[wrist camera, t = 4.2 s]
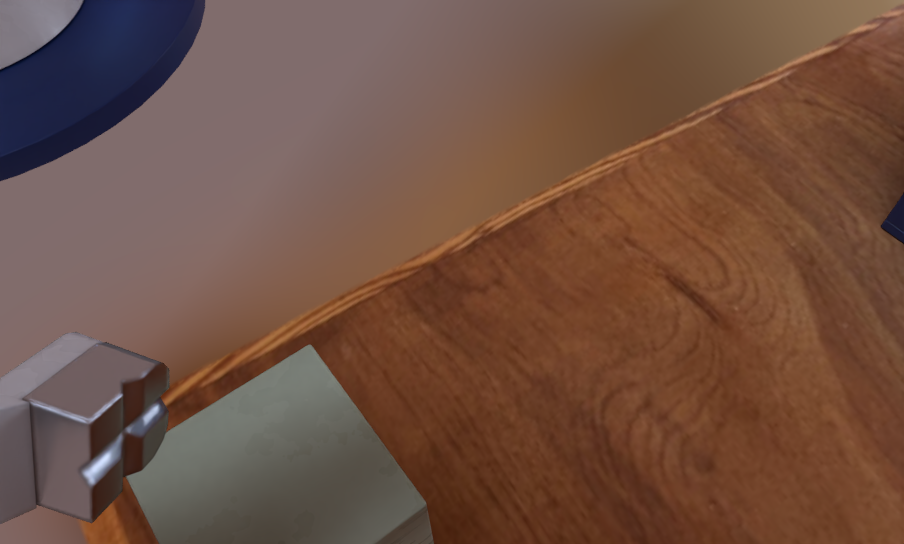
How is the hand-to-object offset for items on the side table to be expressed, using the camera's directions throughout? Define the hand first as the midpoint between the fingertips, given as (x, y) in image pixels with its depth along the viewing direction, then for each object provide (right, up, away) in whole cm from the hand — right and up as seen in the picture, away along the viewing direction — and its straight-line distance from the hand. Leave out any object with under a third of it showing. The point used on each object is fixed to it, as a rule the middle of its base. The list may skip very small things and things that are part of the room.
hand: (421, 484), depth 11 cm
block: (-3, -7, +14) cm, 16 cm away
